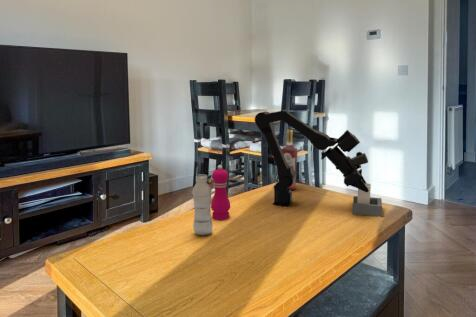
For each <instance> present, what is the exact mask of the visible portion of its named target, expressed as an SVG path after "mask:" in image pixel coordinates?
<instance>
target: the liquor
mask: <svg viewBox="0 0 476 317" xmlns="http://www.w3.org/2000/svg"><path fill="white" fill-rule="evenodd" d="M293 134H294V131H293V129H287V130H286V136H287V138H286V146H285V147H283V148H281V150H282V152H283V155H284V157H285V160H286V162H287V164H288V165H289V166H292V165H293V167H294V171H295V172H296V173H297V162H298V149H297V148H296V147H294V142H293ZM296 180H297V179H296ZM296 180H295V182H294V183H293V184H292V186H290V187H289V189H291V191H294V190H295V189H296V188H297V186H296V184H297V183H296Z"/></svg>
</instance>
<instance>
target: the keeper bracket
mask: <svg viewBox="0 0 476 317" xmlns="http://www.w3.org/2000/svg"><path fill="white" fill-rule="evenodd" d="M357 199H358V195H354V196H353V198H352V200H353V201H352V204H351V206H352V207H351V209H352V210H351V215H359V216H367V215H368V216H370V217H378V216H381V217H382V212H383V202H382V201H383V200H382V197H372V196H370V204H361V203H357ZM368 216H367V217H368Z"/></svg>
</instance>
